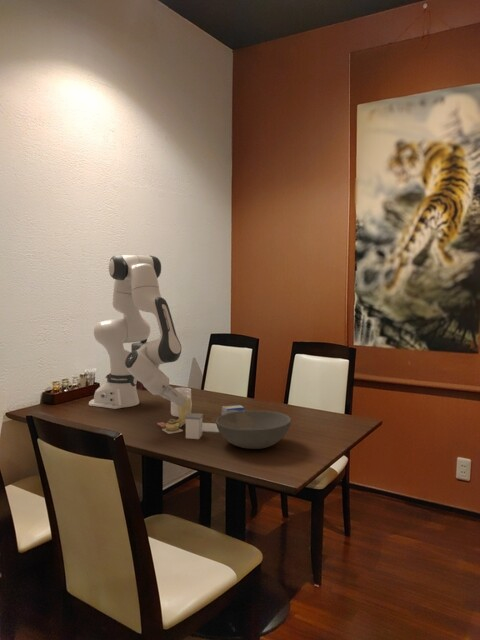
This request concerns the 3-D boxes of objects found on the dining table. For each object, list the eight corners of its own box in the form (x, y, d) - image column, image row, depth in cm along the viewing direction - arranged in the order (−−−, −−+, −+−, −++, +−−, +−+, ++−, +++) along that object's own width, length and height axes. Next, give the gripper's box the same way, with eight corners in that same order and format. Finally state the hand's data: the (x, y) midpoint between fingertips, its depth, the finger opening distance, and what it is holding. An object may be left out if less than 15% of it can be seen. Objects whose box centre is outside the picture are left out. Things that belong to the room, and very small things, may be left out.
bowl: (233, 463, 166) (233, 433, 165) (205, 438, 190) (205, 411, 189) (304, 452, 176) (305, 424, 175) (269, 430, 200) (269, 405, 199)
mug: (182, 420, 212) (182, 394, 211) (166, 413, 221) (166, 389, 220) (199, 416, 218) (199, 391, 217) (183, 410, 227) (183, 386, 226)
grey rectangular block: (185, 438, 190) (185, 417, 189) (189, 433, 195) (189, 413, 194) (199, 439, 189) (199, 417, 188) (202, 434, 194) (203, 413, 193)
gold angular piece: (173, 431, 195) (173, 406, 194) (163, 429, 198) (163, 404, 197) (194, 422, 207) (194, 398, 206) (184, 421, 209) (184, 397, 208)
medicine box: (225, 431, 198) (226, 408, 197) (220, 427, 202) (221, 405, 201) (243, 429, 201) (245, 407, 200) (238, 425, 205) (239, 404, 204)
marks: (146, 432, 196) (146, 431, 196) (160, 420, 211) (160, 420, 211) (179, 434, 194) (179, 433, 194) (191, 422, 209) (191, 422, 209)
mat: (193, 431, 198) (193, 430, 198) (199, 423, 208) (199, 422, 208) (218, 432, 196) (218, 431, 196) (224, 425, 206) (224, 424, 206)
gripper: (175, 382, 193) (198, 404, 200) (152, 372, 210) (173, 393, 217) (164, 396, 191) (187, 417, 198) (141, 384, 208) (163, 404, 215)
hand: (180, 404), depth 207 cm, fingers closed
